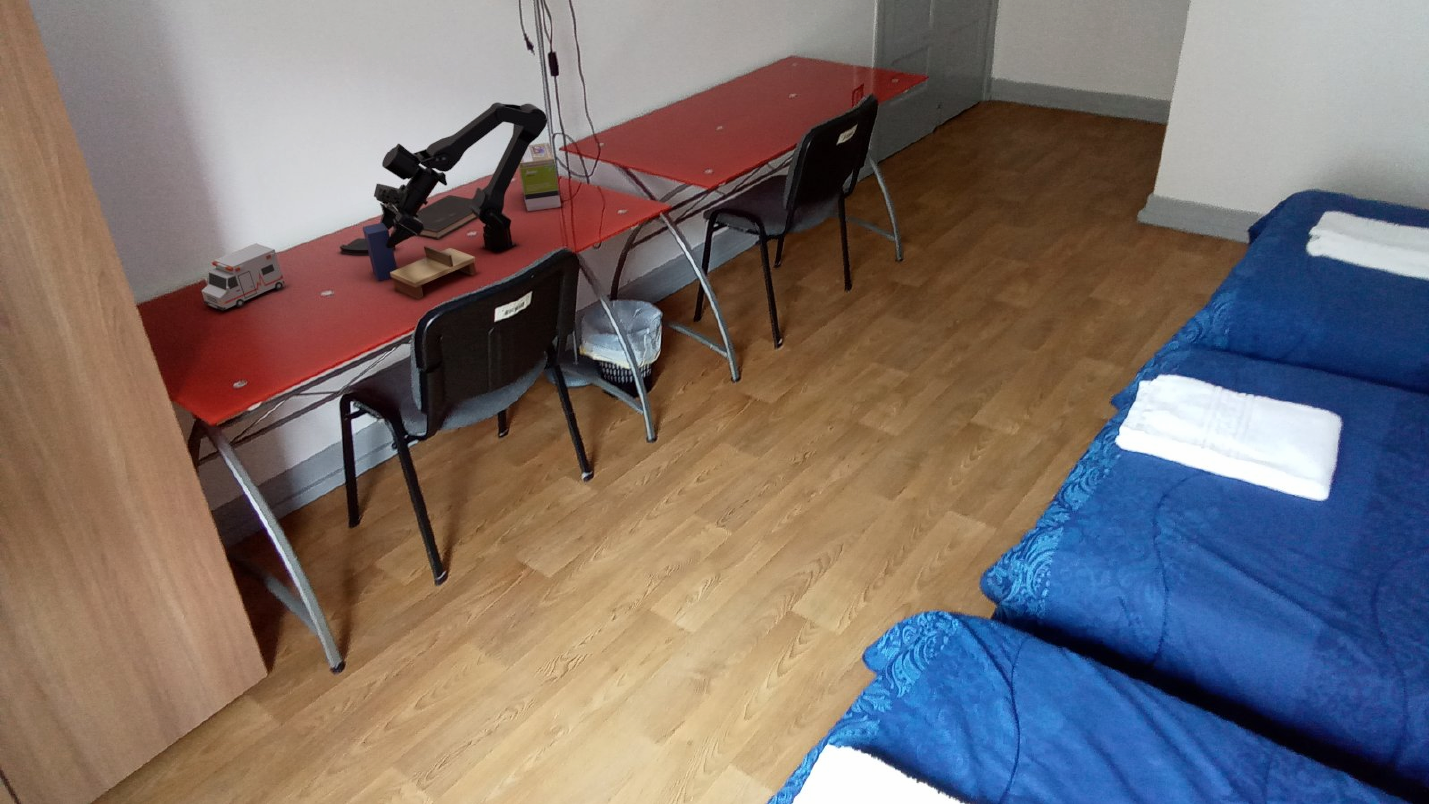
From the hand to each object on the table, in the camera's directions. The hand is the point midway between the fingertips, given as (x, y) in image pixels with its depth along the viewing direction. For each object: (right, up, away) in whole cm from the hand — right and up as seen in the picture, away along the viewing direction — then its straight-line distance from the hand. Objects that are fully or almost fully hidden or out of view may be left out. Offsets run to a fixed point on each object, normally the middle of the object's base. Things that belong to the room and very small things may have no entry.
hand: (382, 241), depth 244 cm
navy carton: (-1, -8, +4) cm, 9 cm away
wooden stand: (+13, -10, 0) cm, 17 cm away
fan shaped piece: (-10, +1, +18) cm, 21 cm away
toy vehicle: (-32, -14, -3) cm, 35 cm away
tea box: (+32, +19, +44) cm, 57 cm away
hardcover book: (+6, +11, +34) cm, 36 cm away
